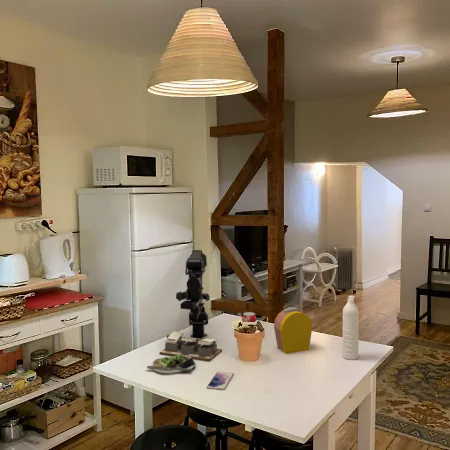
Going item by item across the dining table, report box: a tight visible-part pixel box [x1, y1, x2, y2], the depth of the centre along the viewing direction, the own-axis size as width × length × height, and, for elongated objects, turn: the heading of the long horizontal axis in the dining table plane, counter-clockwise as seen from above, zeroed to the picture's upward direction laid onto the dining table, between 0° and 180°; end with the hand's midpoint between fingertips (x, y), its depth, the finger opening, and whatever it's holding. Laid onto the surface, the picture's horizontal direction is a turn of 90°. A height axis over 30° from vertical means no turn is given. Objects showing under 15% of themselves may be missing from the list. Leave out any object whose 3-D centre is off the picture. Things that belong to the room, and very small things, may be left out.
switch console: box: [158, 334, 223, 362], centre depth 203 cm, size 13×24×7 cm, turn 67°
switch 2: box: [198, 337, 217, 345], centre depth 200 cm, size 8×5×1 cm, turn 157°
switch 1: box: [164, 331, 185, 344], centre depth 206 cm, size 8×5×1 cm, turn 157°
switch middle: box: [181, 336, 200, 342], centre depth 203 cm, size 8×5×1 cm, turn 157°
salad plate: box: [146, 355, 197, 375], centre depth 188 cm, size 19×18×5 cm
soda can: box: [241, 311, 258, 322], centre depth 222 cm, size 7×7×12 cm
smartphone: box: [206, 371, 235, 391], centre depth 174 cm, size 7×1×15 cm
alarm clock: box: [273, 306, 313, 355], centre depth 206 cm, size 15×8×18 cm, turn 111°
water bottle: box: [341, 295, 360, 361], centre depth 196 cm, size 9×6×25 cm
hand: (195, 319), depth 210 cm, fingers closed
